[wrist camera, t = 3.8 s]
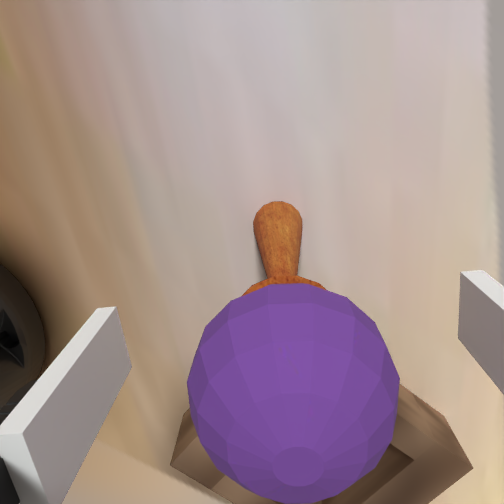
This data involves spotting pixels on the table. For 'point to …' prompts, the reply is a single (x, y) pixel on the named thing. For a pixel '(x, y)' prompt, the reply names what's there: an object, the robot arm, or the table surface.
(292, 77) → the table surface
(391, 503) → the socket block
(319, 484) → the kendama
